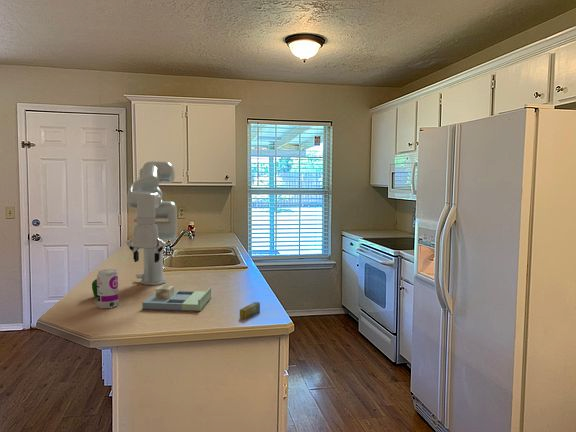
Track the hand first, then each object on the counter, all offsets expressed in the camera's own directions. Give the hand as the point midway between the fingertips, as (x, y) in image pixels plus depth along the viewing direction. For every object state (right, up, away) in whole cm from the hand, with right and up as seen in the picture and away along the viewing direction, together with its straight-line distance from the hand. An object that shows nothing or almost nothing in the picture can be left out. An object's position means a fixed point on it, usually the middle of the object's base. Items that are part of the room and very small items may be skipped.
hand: (146, 261), depth 188 cm
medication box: (+46, -21, -12) cm, 52 cm away
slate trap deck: (+14, -18, +1) cm, 23 cm away
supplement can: (-15, -19, -5) cm, 24 cm away
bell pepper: (-23, -17, +9) cm, 30 cm away
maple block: (+8, -15, +1) cm, 17 cm away
